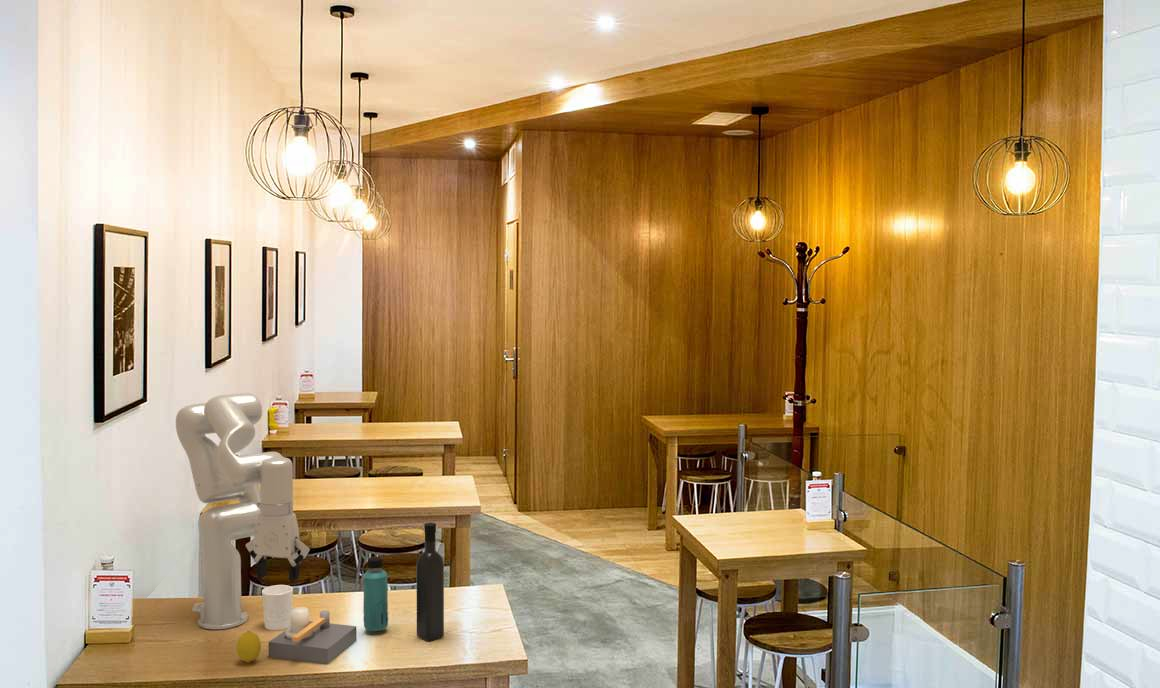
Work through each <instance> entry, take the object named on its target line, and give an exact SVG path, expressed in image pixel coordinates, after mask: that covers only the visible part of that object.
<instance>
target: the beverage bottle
mask: <svg viewBox="0 0 1160 688" xmlns="http://www.w3.org/2000/svg"><path fill="white" fill-rule="evenodd" d="M383 560H384V559H383V557H381V556H371V557H368V558H367V563H366V567H367V568H369V569H368V570H367V571H366V572H365V573H364V574H363V575H362V577H363V603H362V604H363V607H362V608H363V609H362V610H363V613H362V614H363V619H362V620H363V628H364V629H365V630H366V631H369V632H377V631H378V632H379V631H383V630H385V629H387V628H388V625H389V609H388V607H389V600H388V597H389V596H388V595H389V591H388V573H387V572H386V571H385V570H384V569H382V567H383V566H384V561H383Z"/></svg>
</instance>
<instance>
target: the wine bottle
mask: <svg viewBox="0 0 1160 688" xmlns="http://www.w3.org/2000/svg"><path fill="white" fill-rule="evenodd" d="M423 528H424V532H423V533H424V551H423V552H422V553H421V554H420V555H419V556H418V558H417V561H416V636H417V638H419V639H422V640H424V641H425V642H431V641H434V640H436V639H440V638H442V637H444V634H445V563H444V560H443V557H442V555H441V554H440V552H438V551H436V547H437V546H436V544H437V543H436V533H437V524H436V523H435V522H425V523H424V526H423Z"/></svg>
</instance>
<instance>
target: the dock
mask: <svg viewBox="0 0 1160 688" xmlns="http://www.w3.org/2000/svg"><path fill="white" fill-rule="evenodd" d="M313 622H314V621H311V620H309V625H310V624H311V623H313ZM357 640H358V639H357V626H356V625H347V624H339V623H331V622H330V627H328V628H320V626H319V627H318V628H316V629H315V630H314V634H313V636H312V637H310V638H307V639H305V640H300V641H298V642H295V641H292V640H289V639H287V638H286V637H285V630H283V631H282V632H281V633H280V634H278V635H277V636H275V637H273V638H272V639H270V640H269V641H268V658H273V659H281V660H289V661H296V662H297V661H298V662H305V663H314V664H324V665H329V664H330V663H331V662H332V661H334V660H335V659H336V658H338V657H339V656H340V655H341V654H342V653H343V652H346V650H347V649H349V648H350V647H351V646H352V645H353V644H354V643H356V642H357Z"/></svg>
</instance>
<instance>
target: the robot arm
mask: <svg viewBox="0 0 1160 688" xmlns="http://www.w3.org/2000/svg"><path fill="white" fill-rule="evenodd" d="M262 415H263V406H262V403H261V401H260V400H259V398H258V397H257V396H256V395H255V394H253V393H250V392H246V393H245V392H243V393H232V394H230V393H229V394H221V395H217V396H214V397H211V398H210V399H208V400H207V401H206V402H200V403H194V404H190V405H186V406H184V407H182V408H181V409H179V410H178V411H177V414H176V416H175V429H176V430H175V431H176V434H177V438H178V440H179V443H180V444H181V446H182V448H183V450H184V451H185V453H186V456H187V458H188V461H189V465H190V471H191V475H192V479H193V483H194V487H195V492H196V495H197V498H198V499H199V501H200V502H201V503H203V504H215V503H223V502H229V501H236V500H237V501H239V502H238V503H237V502H236V503H230V504H225V505H219V506H214V507H211V508H208V509H206V510H204V511H202V513H200V515H199V516H198V519H197V520H198V521H197V527H198V528H197V529H198V533H199V538H200V543H201V551H202V573H203V574H202V581H203V583H202V584H203V585H202V587H203V590H202V591H203V592H202V593H203V603H202V602H195V603H193V604H194V605H193V608H192V610H191V611H192V613H193V614H194V613H195V614H198V613H199V615H200V617H198V619H197V625H198V626H199V627H200V628H201V629H207V630H226V629H231V628H235V627H237V626H240V625H242V624H244V623H246V622H247V620H248V618H249V617H248V616H249V615H248V612H246V611H245V610H242V573H241V572H242V571H241V569H242V568H241V567H242V563H241V562H242V559H241V554H240V552H239V550H238V549H237V548H236V547H235V546H234V545H233V544H232V541H235V540H239V539H244V538H249V537H254V538H253V539H251V540H250V541H249V542H247V543H246V544H245V548H246V549H247V550H248V553H249V555H250V556H251V557H252V559H253V561H254V563H255V564H256V567H255V568H256V571H255V572H256V576H257V577H256V578H257V580H261V579H263V578H264V577H266V576H267V575H268V570H267V568H268V567H267V566H268V564H267V563H268V562H267V559H265V558H266V557H268V558H269V557H271V558H283V559H284V558H285V559H287V561H289V563H290V566H289V567H288V579H289V580H288V581H289V583H294V582H295V581H297V580H299V577H300V564H301V563H302V562H303V560H305V559H306V557H307V555H308V554H309V552H310V550H311V549H310V547H308V545H306V544H305V543H303V542H302V541H301V540H300V533H299V532H300V531H299V526H298V525H299V524H298V520H297V515H296V513H294V483H293V482H294V480H293V479H294V477H293V474H294V473H293V472H294V471H293V469H294V468H293V462H292V460H291V458H288V457H285V456H283V455H282V454H281V453H279V452H277V451H266V452H257V453H248V454H243V455H236V453H238V452H240V451H242V450H243V449H245V448H246V447H248V446H249V445H250V444H251V443H252V442H253V440H254V439H255V436H256V428H255V426H254V425H256V424H257V423H258V422H259V421H260V420H261V419H262ZM210 434H216V435H217V437H218V438H219V440H220V441H219V443H218V445H217V444H216V442H214V441H213V440H212V439H210V438H209V437H207V435H210ZM259 484H260V485H259ZM299 551H300V553H298V552H299Z"/></svg>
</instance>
